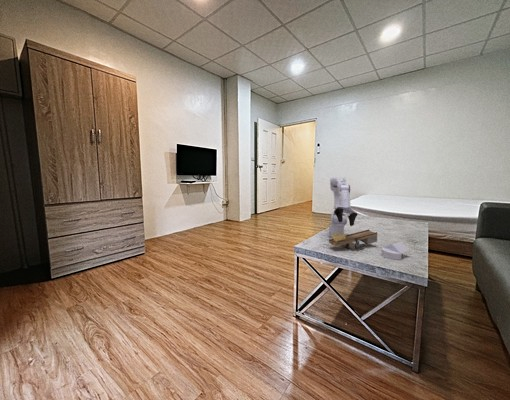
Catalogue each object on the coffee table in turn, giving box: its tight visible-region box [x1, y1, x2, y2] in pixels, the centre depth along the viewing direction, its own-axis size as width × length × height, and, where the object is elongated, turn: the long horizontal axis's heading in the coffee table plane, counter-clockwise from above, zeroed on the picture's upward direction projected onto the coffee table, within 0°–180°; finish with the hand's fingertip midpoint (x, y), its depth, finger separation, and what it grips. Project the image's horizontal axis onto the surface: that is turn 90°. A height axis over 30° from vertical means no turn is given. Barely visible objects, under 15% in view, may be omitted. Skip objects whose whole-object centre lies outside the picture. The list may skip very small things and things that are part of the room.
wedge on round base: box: [380, 241, 410, 261], centre depth 113 cm, size 9×7×13 cm
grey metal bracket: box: [341, 234, 365, 252], centre depth 125 cm, size 10×8×6 cm
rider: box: [331, 232, 346, 243], centre depth 121 cm, size 4×6×4 cm, turn 106°
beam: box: [328, 229, 378, 247], centre depth 125 cm, size 6×29×6 cm, turn 106°
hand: (346, 223), depth 116 cm, fingers open, 7 cm apart
